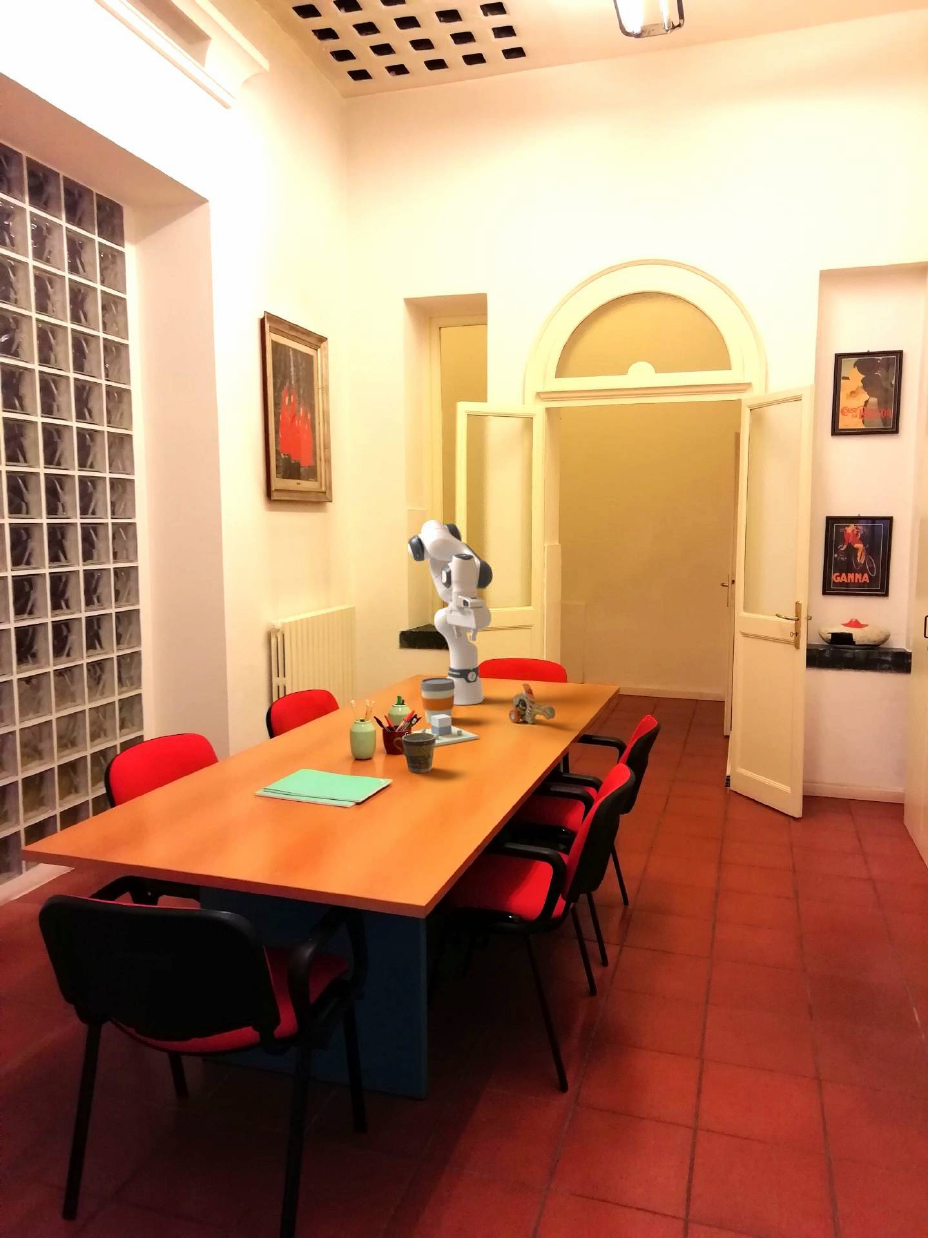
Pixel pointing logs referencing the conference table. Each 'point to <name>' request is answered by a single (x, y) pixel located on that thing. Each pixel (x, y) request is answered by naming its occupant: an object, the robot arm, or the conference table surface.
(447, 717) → the brick stack
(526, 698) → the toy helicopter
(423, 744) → the ceramic cup
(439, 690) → the reusable coffee cup
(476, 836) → the conference table surface
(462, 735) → the baseplate
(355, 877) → the conference table surface
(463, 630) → the robot arm
